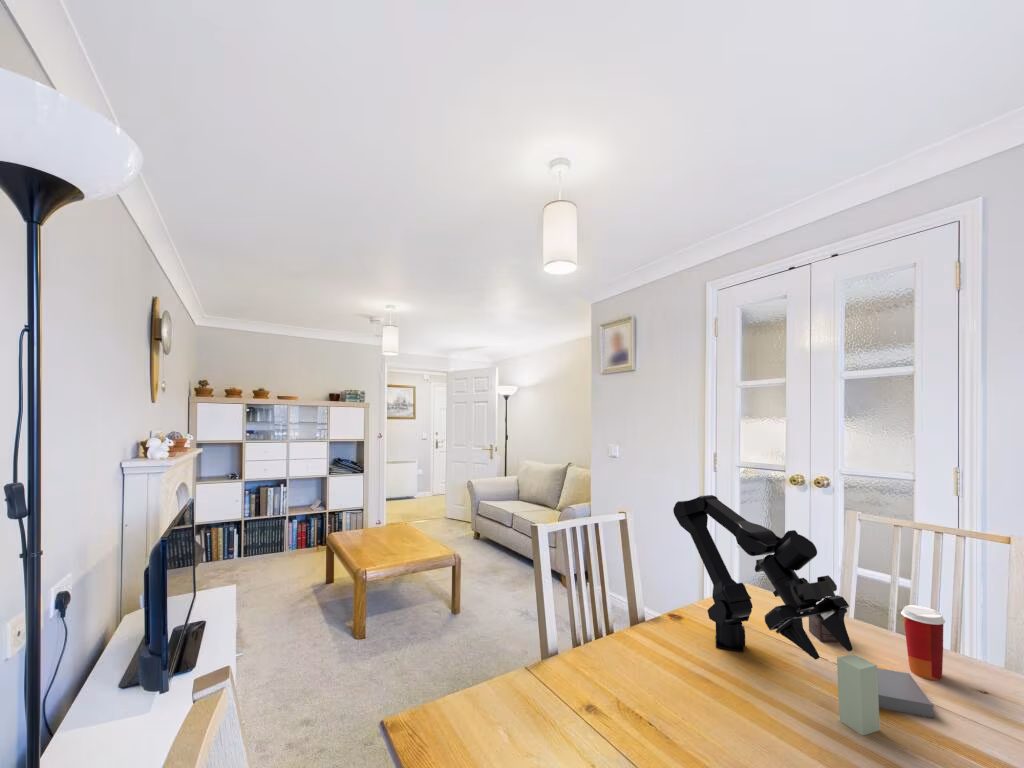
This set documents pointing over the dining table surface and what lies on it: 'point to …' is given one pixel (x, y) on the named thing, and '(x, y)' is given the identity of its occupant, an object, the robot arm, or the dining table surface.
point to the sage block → (858, 694)
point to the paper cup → (924, 641)
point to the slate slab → (902, 693)
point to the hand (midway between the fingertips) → (834, 654)
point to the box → (820, 630)
